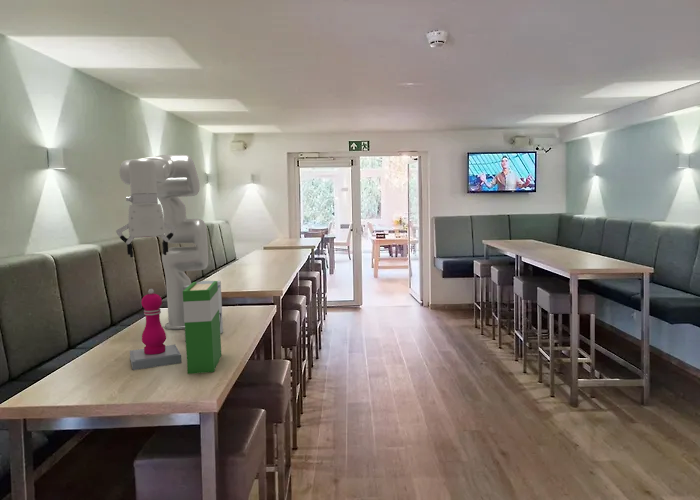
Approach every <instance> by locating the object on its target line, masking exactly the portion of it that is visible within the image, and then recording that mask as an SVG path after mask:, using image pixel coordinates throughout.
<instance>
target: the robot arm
mask: <svg viewBox="0 0 700 500" xmlns="http://www.w3.org/2000/svg"><path fill="white" fill-rule="evenodd" d="M118 173H119V178H120V179H121V181H122V182H123V183H124V184H125V185H130V195H128V196H125V201H126V202H129V203H131V204H129V205H128V214H127V215H128V216H127V217H128V218H127V219H128V220H127V221H128V222H127V224H124V225H123V226H121V227H119V228H118V229H116V230H115V233H116V234H117V236H118V237H119V238H120V240H122V241H123V242H124V243H125V244H126V248H127V249H126V251H127V255H128V256H129V257H130V258H133V257H134V249H133V247H134V246H133V243H132V242H133V240H134V239H138V238H140V239H141V238H154V237H155V238H156V237H157V238H159V237H160V238H161V239H162V242H161V243H162V255H161V261H162V266H163V269H164V275H165V285H166V287H165V288H166V299H167V301H166V303H167V315H168V317H167V318H168V322H167V323H165V324H164V328H165V329H166V330H185V325H184V306H183V287H184V286H188V285H191V284H192V281H191V278H190V277H189V276H188V275H187V274H186V273H185V272H191V271H202V270H206V269H208V267H209V246H208V245H209V244H208V230H207V225H206V223H205V221H204V220H203V219H201V218H187V207H186V204H185V203H184V202H183V201H182V199H181V198H180V197H182V198H183V197H184V198H185V197H195V196H197V195H198V194H199V193H200V187H201V185H200V180H199V176H198V173H197V170H196V165H195V163H194V160H193V159H192V157H191V156H190V155H188V154H160V155H155V156H149V157H148V156H146V157H141V158H134V159H126V160H125V159H124V160H123V161H122V162H121V164H120V166H119V171H118ZM126 230H128V234H129V236H128V237H125V236H124V234H123V232H124V231H126ZM168 243H169V244H194V246H174V247H173V246H172V247H169V244H168Z"/></svg>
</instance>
